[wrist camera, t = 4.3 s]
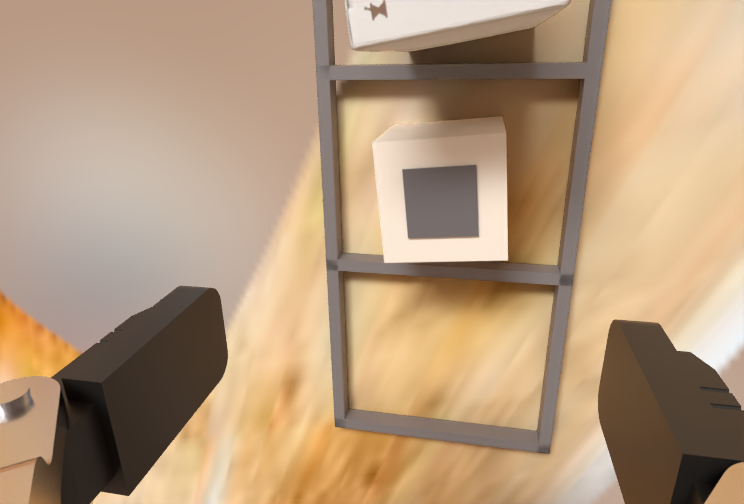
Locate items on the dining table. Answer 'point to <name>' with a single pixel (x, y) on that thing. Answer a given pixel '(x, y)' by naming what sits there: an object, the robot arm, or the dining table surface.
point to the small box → (439, 21)
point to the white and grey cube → (443, 191)
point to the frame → (458, 269)
